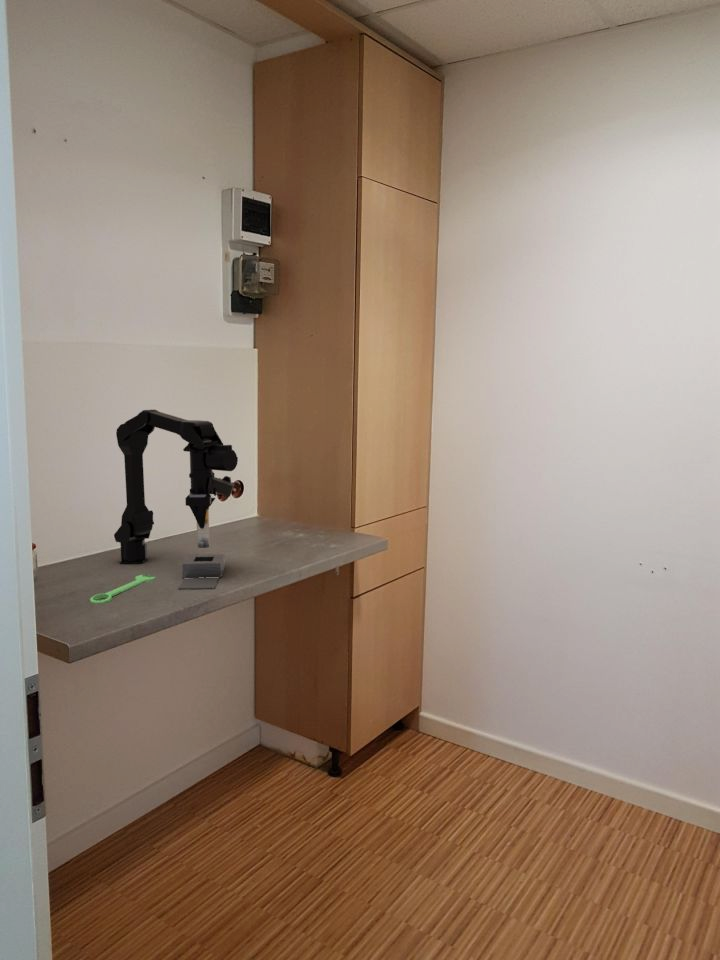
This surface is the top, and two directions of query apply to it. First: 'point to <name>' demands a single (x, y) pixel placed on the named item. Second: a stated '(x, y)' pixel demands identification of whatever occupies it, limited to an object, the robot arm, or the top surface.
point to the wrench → (121, 589)
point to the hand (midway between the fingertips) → (202, 526)
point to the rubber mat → (198, 583)
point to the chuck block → (203, 566)
